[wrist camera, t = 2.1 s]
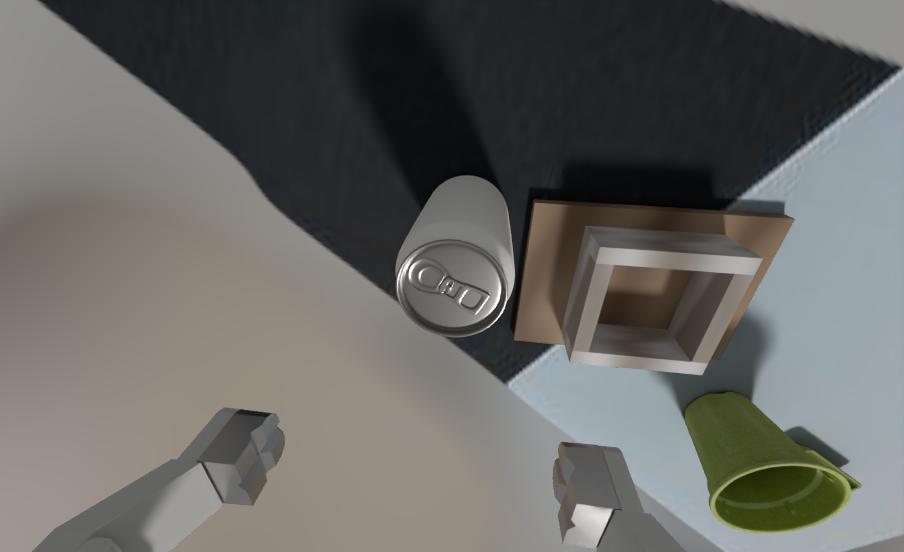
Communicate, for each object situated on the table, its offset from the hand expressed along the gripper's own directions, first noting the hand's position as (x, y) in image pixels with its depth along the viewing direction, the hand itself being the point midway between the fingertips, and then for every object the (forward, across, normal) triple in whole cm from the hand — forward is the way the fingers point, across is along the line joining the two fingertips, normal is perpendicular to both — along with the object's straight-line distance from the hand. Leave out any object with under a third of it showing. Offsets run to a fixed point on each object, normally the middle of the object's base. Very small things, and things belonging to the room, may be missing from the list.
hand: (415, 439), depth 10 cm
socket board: (+20, -14, +5) cm, 25 cm away
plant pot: (+20, -26, +19) cm, 38 cm away
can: (+20, 0, 0) cm, 20 cm away
